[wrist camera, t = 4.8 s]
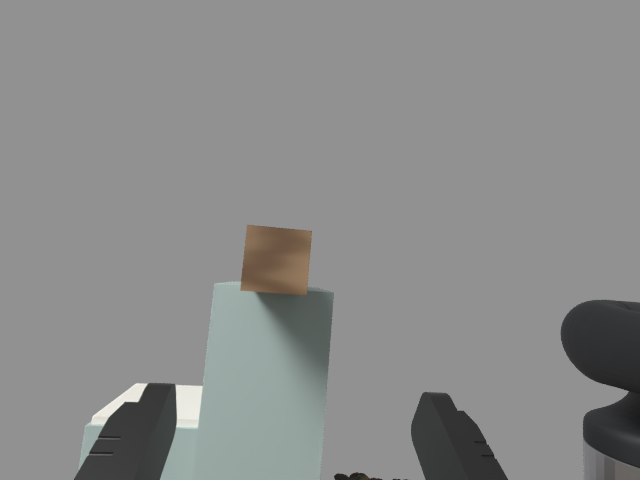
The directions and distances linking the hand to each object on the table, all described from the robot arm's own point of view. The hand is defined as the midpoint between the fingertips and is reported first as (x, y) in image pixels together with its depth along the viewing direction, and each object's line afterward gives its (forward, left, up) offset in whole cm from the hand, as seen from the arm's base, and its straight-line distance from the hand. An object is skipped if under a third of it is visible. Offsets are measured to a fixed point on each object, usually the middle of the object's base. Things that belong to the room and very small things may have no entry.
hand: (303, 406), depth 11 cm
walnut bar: (+1, -19, +3) cm, 20 cm away
